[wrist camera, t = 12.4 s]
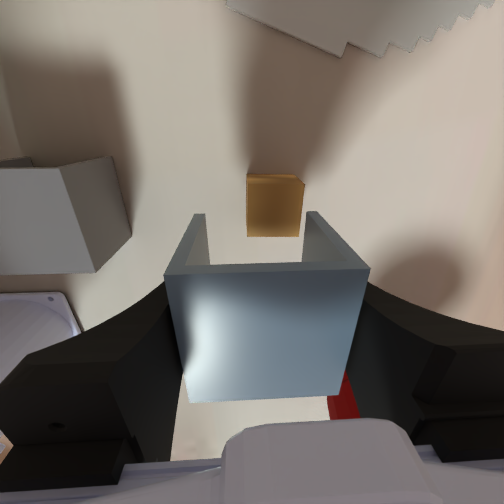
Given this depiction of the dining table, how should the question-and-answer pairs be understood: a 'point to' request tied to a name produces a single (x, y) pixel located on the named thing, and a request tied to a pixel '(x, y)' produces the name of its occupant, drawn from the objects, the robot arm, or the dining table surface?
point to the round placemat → (358, 20)
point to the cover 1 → (59, 217)
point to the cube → (273, 205)
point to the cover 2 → (265, 317)
